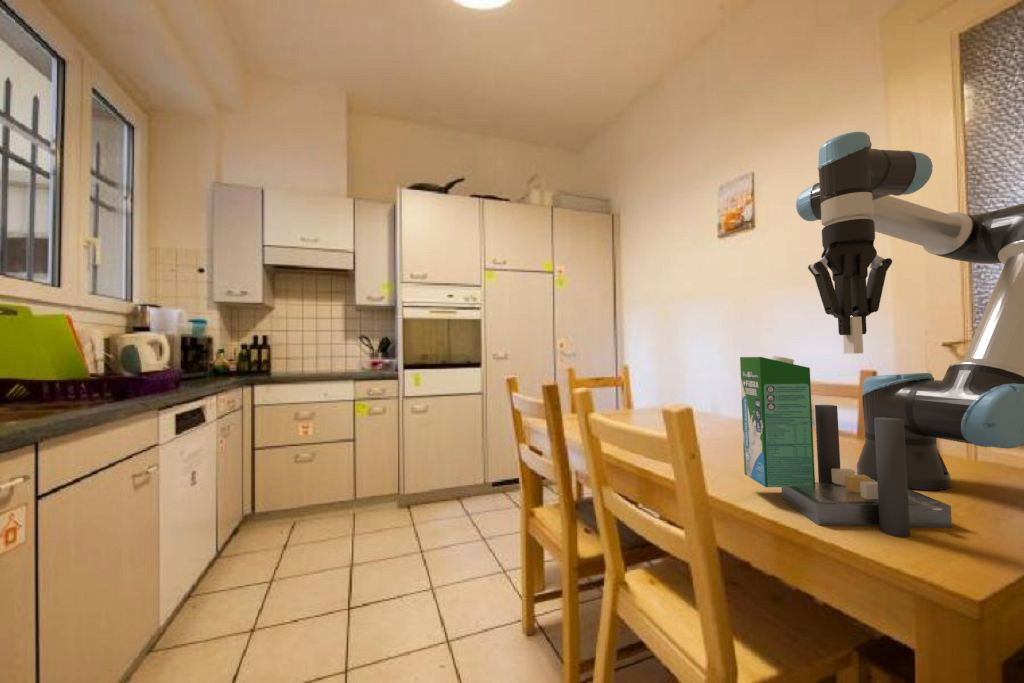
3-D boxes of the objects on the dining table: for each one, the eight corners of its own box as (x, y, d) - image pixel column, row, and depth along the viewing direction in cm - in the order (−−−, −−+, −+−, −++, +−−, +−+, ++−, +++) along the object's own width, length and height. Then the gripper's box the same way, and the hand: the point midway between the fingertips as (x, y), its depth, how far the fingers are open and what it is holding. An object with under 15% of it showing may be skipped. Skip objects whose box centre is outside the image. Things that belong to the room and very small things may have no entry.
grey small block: (850, 482, 81) (849, 468, 81) (855, 484, 79) (854, 470, 79) (832, 481, 81) (831, 468, 81) (836, 484, 80) (835, 470, 80)
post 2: (898, 527, 69) (892, 417, 70) (916, 537, 66) (910, 420, 66) (874, 527, 70) (868, 417, 70) (890, 537, 66) (884, 421, 67)
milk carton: (815, 488, 80) (809, 355, 81) (765, 487, 81) (760, 356, 82) (789, 474, 89) (784, 355, 90) (744, 474, 90) (739, 356, 91)
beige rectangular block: (881, 496, 73) (880, 481, 73) (887, 499, 71) (886, 484, 71) (860, 496, 73) (860, 481, 73) (866, 499, 72) (865, 484, 72)
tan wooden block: (865, 488, 77) (864, 474, 77) (870, 491, 75) (869, 477, 75) (845, 488, 77) (844, 474, 77) (850, 491, 76) (850, 477, 76)
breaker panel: (887, 497, 83) (886, 478, 83) (963, 532, 67) (962, 508, 67) (777, 496, 85) (776, 477, 85) (825, 530, 69) (824, 507, 69)
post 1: (834, 493, 86) (830, 404, 86) (846, 499, 82) (841, 406, 83) (815, 493, 86) (810, 404, 87) (826, 499, 83) (821, 407, 83)
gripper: (871, 227, 80) (877, 352, 79) (797, 231, 81) (802, 354, 81) (903, 214, 73) (910, 352, 72) (821, 219, 74) (827, 354, 73)
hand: (853, 353), depth 76 cm, fingers closed
